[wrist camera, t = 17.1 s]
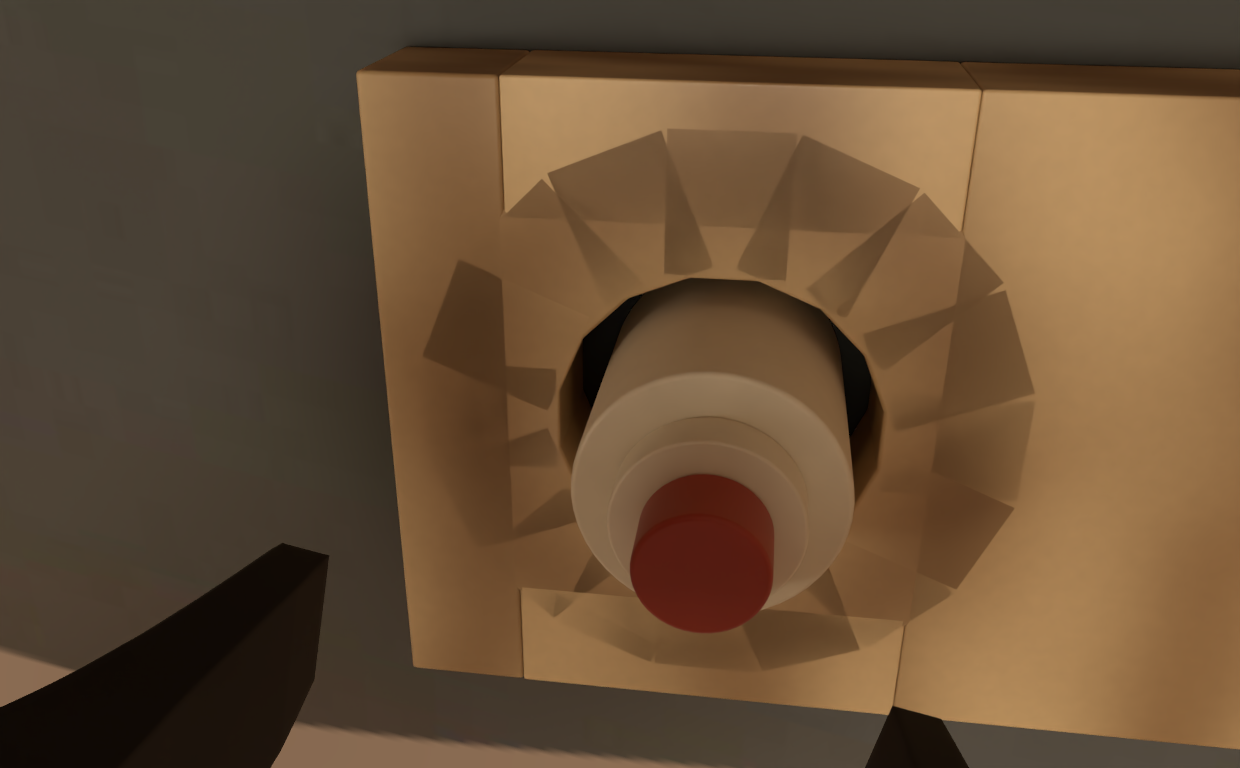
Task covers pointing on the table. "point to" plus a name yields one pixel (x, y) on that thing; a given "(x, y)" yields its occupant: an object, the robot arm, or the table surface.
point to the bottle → (717, 453)
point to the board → (878, 327)
